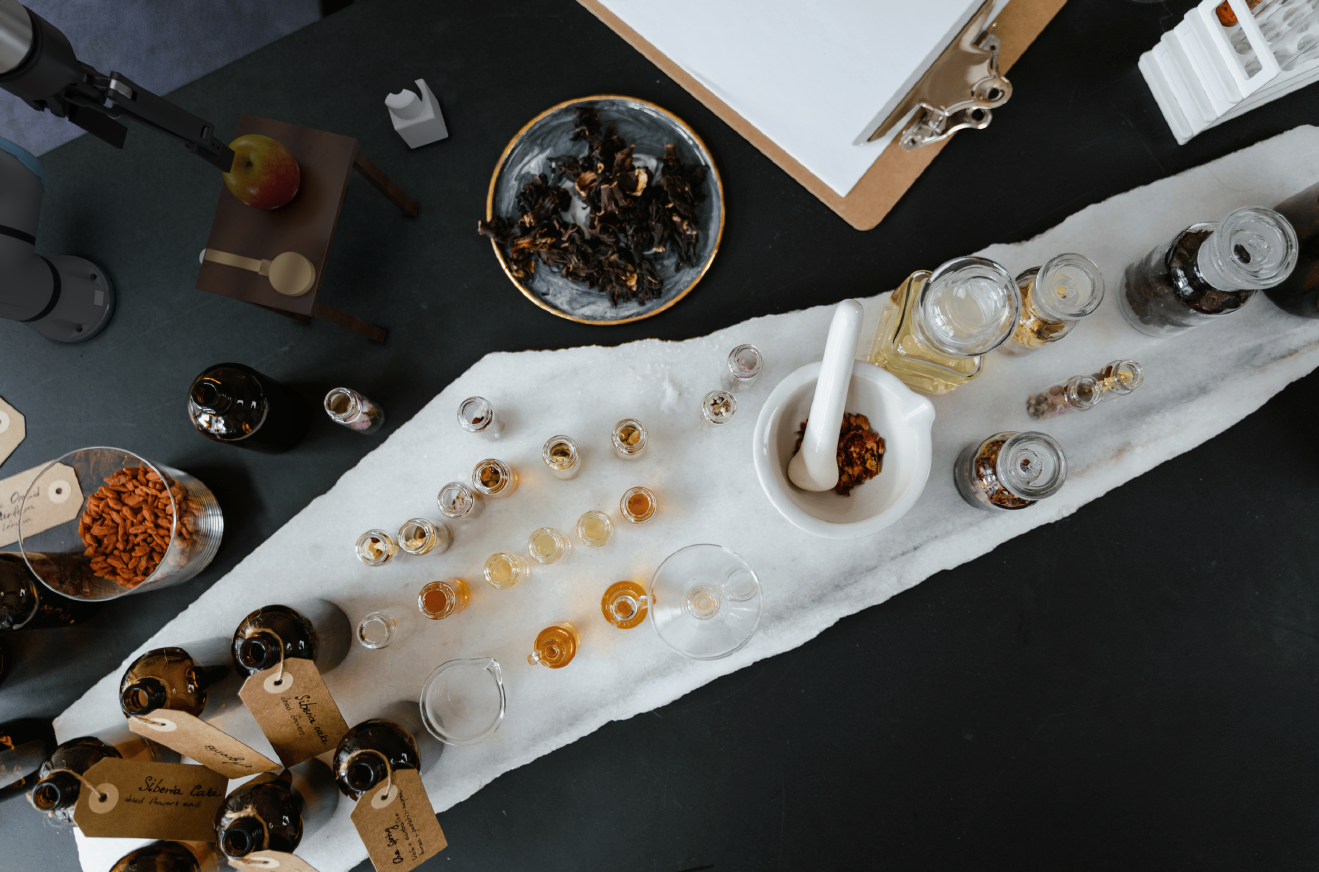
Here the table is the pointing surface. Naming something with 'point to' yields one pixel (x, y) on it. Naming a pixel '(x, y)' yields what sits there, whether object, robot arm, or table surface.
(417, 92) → the gray notched block
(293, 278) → the wooden paddle
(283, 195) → the fruit
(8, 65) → the robot arm
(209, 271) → the dark wooden stool
